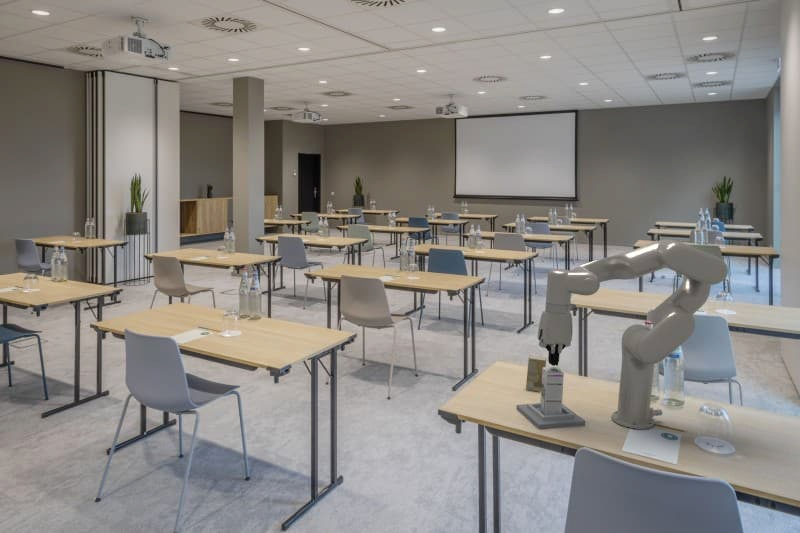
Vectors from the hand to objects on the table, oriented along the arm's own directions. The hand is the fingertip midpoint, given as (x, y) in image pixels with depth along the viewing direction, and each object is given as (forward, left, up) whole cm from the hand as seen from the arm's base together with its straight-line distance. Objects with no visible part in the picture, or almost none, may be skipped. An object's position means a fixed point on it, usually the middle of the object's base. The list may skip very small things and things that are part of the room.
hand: (553, 364), depth 187 cm
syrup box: (0, 0, -17) cm, 17 cm away
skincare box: (-7, -24, -18) cm, 31 cm away
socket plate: (0, 0, -18) cm, 18 cm away
